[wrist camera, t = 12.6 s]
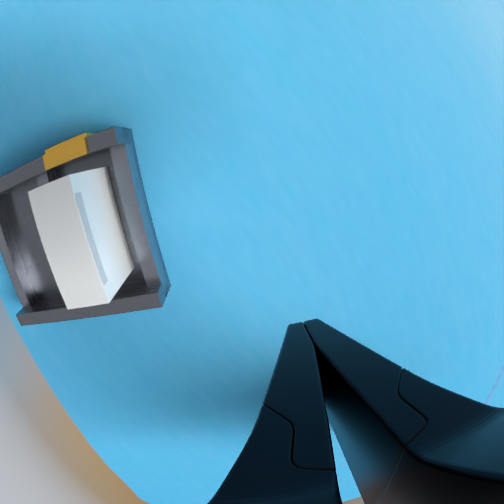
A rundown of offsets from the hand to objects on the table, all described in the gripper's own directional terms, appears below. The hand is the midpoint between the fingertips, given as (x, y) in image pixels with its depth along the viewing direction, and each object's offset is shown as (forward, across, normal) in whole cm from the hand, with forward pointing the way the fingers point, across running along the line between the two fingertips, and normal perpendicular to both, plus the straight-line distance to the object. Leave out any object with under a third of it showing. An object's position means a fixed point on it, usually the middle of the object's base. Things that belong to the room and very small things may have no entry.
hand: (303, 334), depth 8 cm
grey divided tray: (+12, +14, -2) cm, 18 cm away
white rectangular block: (+11, +10, -2) cm, 16 cm away
